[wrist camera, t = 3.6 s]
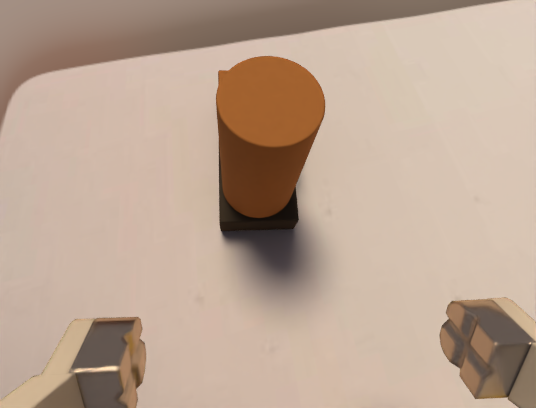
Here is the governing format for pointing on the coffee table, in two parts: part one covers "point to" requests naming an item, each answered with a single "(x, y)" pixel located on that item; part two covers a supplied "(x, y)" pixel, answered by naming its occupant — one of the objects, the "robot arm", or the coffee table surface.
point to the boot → (264, 140)
